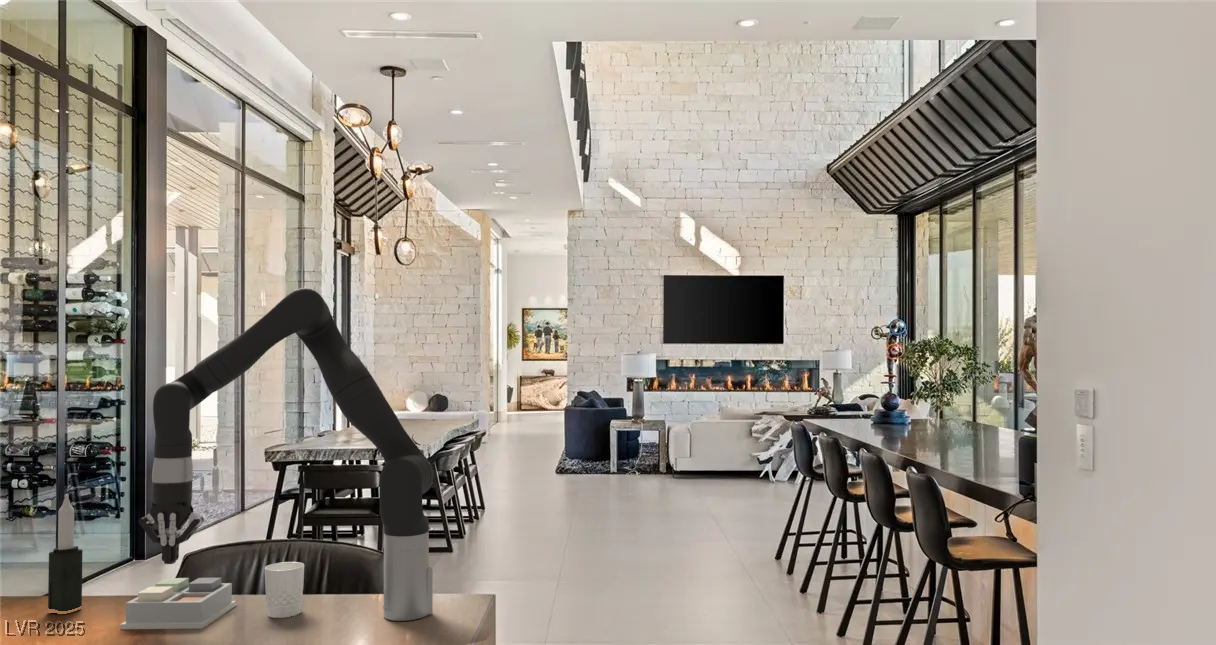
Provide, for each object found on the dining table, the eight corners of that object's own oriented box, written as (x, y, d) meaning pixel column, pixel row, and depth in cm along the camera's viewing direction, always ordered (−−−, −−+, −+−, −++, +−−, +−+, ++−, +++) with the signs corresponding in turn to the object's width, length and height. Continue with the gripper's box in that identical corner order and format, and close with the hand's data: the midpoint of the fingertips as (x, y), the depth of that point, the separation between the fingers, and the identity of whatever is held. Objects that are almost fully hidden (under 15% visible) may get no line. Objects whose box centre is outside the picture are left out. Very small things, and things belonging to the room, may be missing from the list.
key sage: (188, 593, 192) (188, 577, 192) (178, 599, 188) (178, 583, 188) (166, 593, 192) (166, 578, 192) (155, 599, 188) (155, 583, 188)
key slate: (221, 593, 192) (221, 577, 193) (211, 599, 188) (211, 583, 188) (198, 593, 192) (199, 577, 192) (188, 599, 188) (188, 583, 188)
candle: (84, 608, 193) (85, 492, 194) (63, 615, 188) (64, 496, 189) (66, 606, 194) (68, 491, 195) (45, 613, 190) (47, 495, 190)
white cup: (310, 608, 192) (310, 561, 192) (293, 619, 184) (294, 570, 184) (275, 608, 192) (275, 561, 193) (257, 618, 185) (257, 570, 185)
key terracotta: (206, 613, 185) (207, 597, 185) (196, 619, 181) (196, 603, 181) (183, 613, 185) (183, 597, 185) (172, 620, 180) (172, 603, 181)
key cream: (173, 602, 185) (173, 586, 185) (161, 609, 181) (161, 592, 181) (149, 602, 185) (150, 586, 185) (137, 609, 180) (138, 592, 181)
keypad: (236, 605, 195) (236, 582, 195) (202, 628, 178) (202, 603, 178) (160, 606, 194) (161, 583, 195) (120, 629, 178) (120, 604, 178)
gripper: (212, 476, 188) (210, 559, 187) (149, 475, 188) (147, 558, 187) (196, 481, 180) (193, 568, 180) (130, 481, 180) (128, 567, 180)
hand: (169, 563), depth 183 cm, fingers closed
